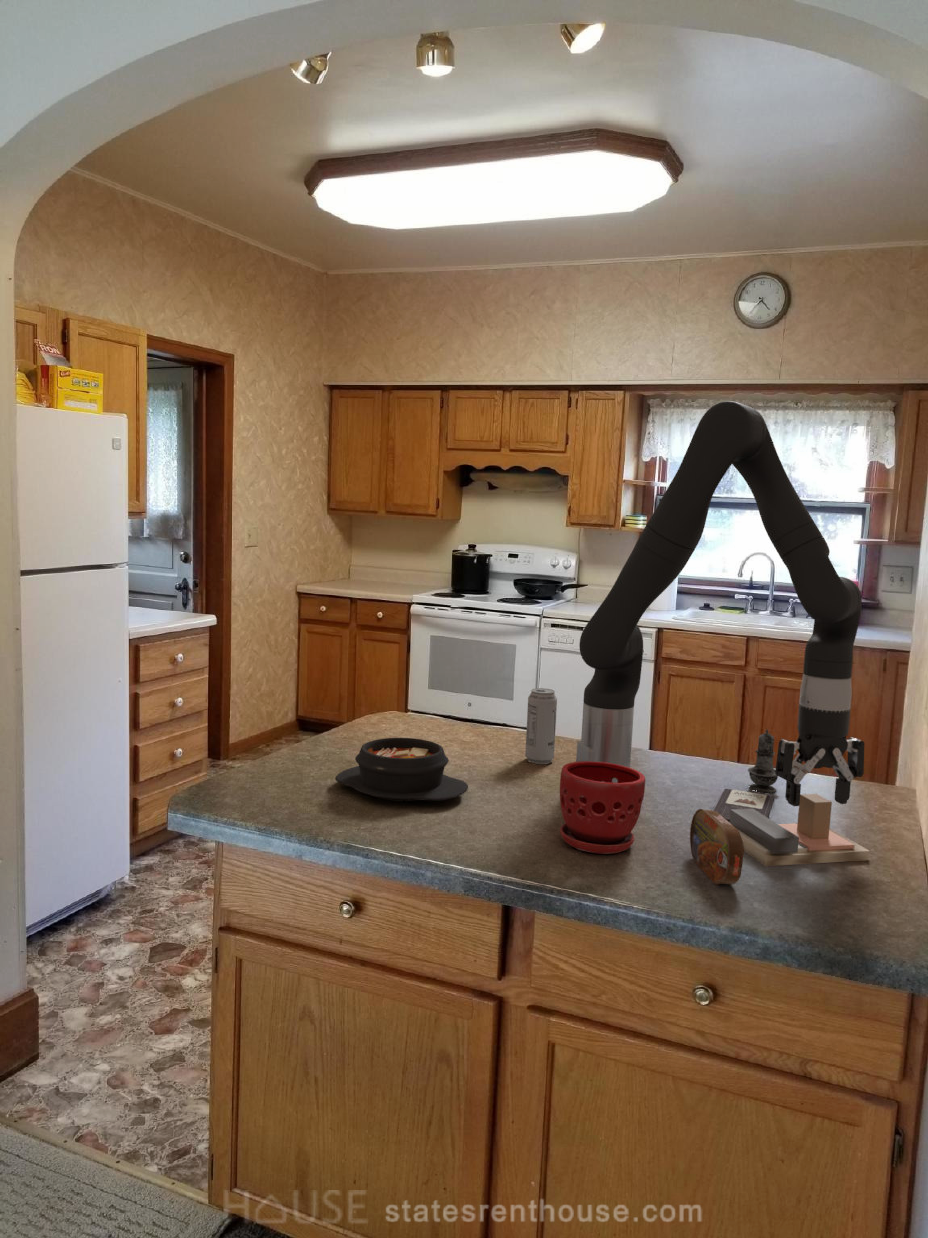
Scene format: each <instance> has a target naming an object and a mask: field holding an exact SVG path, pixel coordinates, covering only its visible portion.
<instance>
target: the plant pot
mask: <svg viewBox="0 0 928 1238" xmlns="http://www.w3.org/2000/svg"><path fill="white" fill-rule="evenodd" d="M613 778H616V779H617V780H618V782H617V783H613V782H612V779H613ZM559 779H560V780H559V802H560V803H559V804H560V809H561V815H562V817H563V820H564V824H563V825H561V827H560V831H559V832H560V836H561V838H562V839H563V840H564V842H565V843H566V844H568V845H569V846H571V847H572V848H575V849H576V850H577V851H580V852H581V851H583V852H586V853H592V854H602V855H608V854H609V855H610V854H617V853H621V852H623V851H626V850H628V849H629V848H630V847H631V846H632V845H633V844H634V841H635V835H634V834H633V830H634V829H635V826H636V825H637V822H638V820H639V818H640V815H641V811H642V805H643V800H644V796H645V791H646V790H645V788H646V776H645V775H644V774H643V773H642V772H640V771H639V770H637V769H634V768H632V767H630V768H629V767H626V766H622V765H618V764H612V763H606V762H594V761H580V762H576V761H574V762H569V763H566V764H564V765H563V766H562V767H561V772H560V778H559ZM601 781H604V782H601ZM582 796H583V797H582Z"/></svg>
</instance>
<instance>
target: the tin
mask: <svg viewBox="0 0 928 1238" xmlns="http://www.w3.org/2000/svg"><path fill="white" fill-rule="evenodd" d="M689 831H690V832H689V844H690V852H691V855H692V859H693V861H694V863H695V864H696V866H698V867H699V869H701V870H702V871H703V873H704V874H705V875H706V876H707V878H708V879H710V881H711V882H712V883H714V885H733V884H736V883H737V882H739V880H740V878H741V876H742V869H743V862H744V855H745V852H744V846H743V840H742V837H741V835H740V833H739V831H738V830H737V829H736V828H735V827H734V826H733V825H732V824H731V823H730V822H728V821H727V820H726V819H725V818H724V817H723V816H722V815H721V814H719V813H718V812H716V811H714V810H708V809H703V808H699V809H697V810H696V811H695V812H694V814H693V816H692V819H691V823H690V829H689Z"/></svg>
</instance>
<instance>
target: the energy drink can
mask: <svg viewBox="0 0 928 1238" xmlns="http://www.w3.org/2000/svg"><path fill="white" fill-rule="evenodd" d="M555 693H556V692H555V690H553V689H550V688H543V687H542V688H541V687H540V688H538V687H537V688H532V689H531V693H530V694H529V695H528V697H527V712H526V714H527V715H526V718H527V719H526V732H525V734H526V736H525V737H526V738H525V754H524V755H525V757H526V758H527V762H529V761H530V762H529V763H531V762H532V763H531V764H534V763H536V764H535V765H547V764H551V763H552V760H553V759H554V758H555V746H556V745H555V744H556V730H557V729H556V726H557V711H558V710H557V708H558V698H557V696H556V694H555Z"/></svg>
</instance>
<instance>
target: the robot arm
mask: <svg viewBox="0 0 928 1238" xmlns="http://www.w3.org/2000/svg"><path fill="white" fill-rule="evenodd" d="M699 420H700V421H699V422H698V424H697V426H696V429H695V430H694V433H693V436H692V438H691V440H690V442H689V444H688V446H687V449H686V452H685V454H684V457H683V458H682V461H681V463H680V465H679V467H678V469H677V471H676V473H675V475H674V477H673V478H672V481H670V482H669V483H670V484H669V485H668V486H667V489H666V490H665V492H664V493H663V495H662V497H661V498H660V501H659V502H658V504H657V506H656V508H655V510H654V511H653V513H652V514H651V516H650V518H649V519H648V521H647V523H646V525H645V526H644V528H643V530H642V532H641V534H640V535H639V537H638V538H637V541H636V542H635V545H634V547H633V548H632V551H631V553H629V557H628V558H627V560H626V562H625V563H624V565H623V567H622V568H621V570H620V573H619V574H618V576H617V578H616V580H615V582H614V584H613V586H612V588H611V589H610V590H609V592H608V594H607V595H606V597H605V598H604V600H603V601H602V602H601V604H599V605H600V606H599V607H598V608H597V609H596V611H595V613H594V614H593V615H592V616H591V618H590V619H589V621H588V622H587V624H586V625H585V626H584V629H583V630H582V632H581V635H580V638H579V644H578V645H579V653H580V656H581V658H582V660H583V661H584V663H585V664H586V665H587V666H588V667H590V668H592V669H594V672H593V676H592V678H591V680H590V681H589V682H588V684H587V685H586V686H585V688H584V691H583V703H582V704H583V705H582V708H583V709H582V718H581V719H582V723H581V738H580V740H578V741H577V742H576V754H575V755H576V760H575V762H580V761H594V762H606V763H612V764H618V765H622V766H626V767H629V768H631V762H632V761H631V759H632V746H633V745H632V743H633V726H634V714H635V713H634V711H635V702H636V701H635V699H636V696H637V694H638V692H639V689H640V684H641V683H640V682H641V676H642V667H643V666H642V665H643V656H644V638H643V634H642V631H641V629H640V627H639V625H638V623H639V622H640V620H641V618H642V616H643V615H644V613H645V612H646V611H647V609H648V608H649V607H650V605H651V604H652V603H653V602H655V601H656V599H658V598H659V596H660V595H662V594H663V592H665V590H666V589H667V588H669V586H670V585H672V583H673V582H674V581H675V580H676V579H677V578H678V576H679V575H680V574H681V572H682V571H683V569H684V568H685V567H686V565H687V564H688V562H689V561H690V558H691V557H692V555H693V554H694V551H695V550H696V548H697V546H698V545H699V542H700V541H701V538H702V536H703V532H704V530H705V527H706V526H705V525H706V522H707V518H708V513H709V510H710V509H709V508H710V506H711V501H712V499H713V496H714V495H715V494H714V493H715V491H716V490H717V488H718V486H719V485H720V482H721V481H722V480H723V478H724V476H725V475H726V474H727V471H729V468H730V467H731V466H732V465H733V467H734V468H735V469H736V470H737V472H738V473H739V475H741V477H742V478H743V480H744V481H745V482H746V484H747V486H748V488H749V489H750V491H751V494H752V496H753V498H754V500H755V503H756V507H757V510H758V513H759V515H760V519H761V522H762V525H763V527H764V530H765V531H766V533H767V536H768V538H769V540H770V542H771V544H772V546H774V549H775V550H776V552H777V555H778V556H779V558H780V559H781V561H782V563H783V564H784V565H785V567H786V569H787V571H788V573H789V577H790V579H791V583H792V584H793V585H792V586H793V588H794V590H795V593H796V595H797V598H798V600H799V603H800V604H801V606H802V609H804V610H805V612H806V613H807V614H808V616H809V617H811V618H812V619H813V620H814V622H813V628H812V635H811V637H810V638H809V639H808V640H807V642H806V644H805V645H806V646H805V648H804V657H803V668H802V669H803V671H802V672H803V673H802V678H801V679H802V680H801V683H800V684H801V685H800V689H799V701H798V717H797V731H798V737H797V740H795V741H789V740H787V739H784V738H781V739H779V740H778V741H779V742H778V747H777V754H776V756H777V757H776V763H775V769H774V770H775V774H776V775H777V776H778V778H781V779H782V780H784V781H786V783H785V800H786V801H787V803H788V805H791V806H793V807H799V804H800V794H801V790H802V789H801V788H802V784H801V781H802V780H803V779H804V778H805V776H806V775H807V774H810V773H811V771H812V770H813V769H822V768H828V769H833V770H834V772H835V774H836V775H837V777H836V778H835V788H834V801H835V802H836V803H838V804H839V805H846V804H847V803H848V801H849V800H850V796H851V794H850V793H851V783H852V781H853V780H854V779H855V778H862V777H863V776H864V771H865V770H864V769H865V742H864V741H863V740H861V739H858V738H857V737H853V736H850V737H849V738H848V739H847V736H849V734H850V732H849V731H850V719H851V707H852V697H853V694H852V693H853V692H852V691H853V690H852V689H853V688H852V674H853V661H854V658H853V657H854V652H853V651H854V645H855V640H856V637H857V633H858V629H859V624H860V620H861V615H862V607H863V606H862V604H863V603H862V602H863V601H862V594H861V591H860V590H861V589H860V588H859V587H858V585H857V584H856V582H854V581H853V580H852V579H850V578H847V577H844V576H839V574H838V573H837V571H836V569H835V567H834V565H833V563H832V561H831V559H830V558H829V557H830V547H829V545H828V543H827V541H826V539H825V537H824V535H823V534H822V533H821V531H820V529H819V527H818V526H817V524H816V522H815V521H814V519H813V517H812V516H811V514H810V512H809V511H808V509H807V508H806V506H805V504H804V502H803V501H802V500H801V498H800V495H799V494H798V493H797V491H796V489H795V487H794V485H793V484H792V482H791V480H790V479H789V475H788V474H787V472H786V470H785V468H784V466H783V464H782V462H781V459H780V456H779V454H778V452H777V449H776V446H775V444H774V442H773V438H772V435H771V434H770V431H769V428H768V425H767V423H766V421H765V418H764V417H763V415H762V414H761V413H760V412H759V411H758V410H756V409H755V408H753V407H751V406H750V405H746V404H743V403H741V402H737V401H732V400H725V401H720V402H718V403H715V404H714V405H712V406H710V408H709V409H707V410H706V411H705V413H704V414H703V416H702V417H701V419H699ZM796 751H797V752H798V753H797V752H796ZM846 751H847V761H846V759H845V758H844V757H843V755H844V753H845V752H846ZM795 755H796V756H795ZM794 756H795V757H794ZM803 762H804V764H802V763H803ZM601 782H604V781H601ZM612 782H613V783H617V782H618V780H617V779H616V778H613V779H612ZM581 797H583V796H581Z"/></svg>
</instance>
